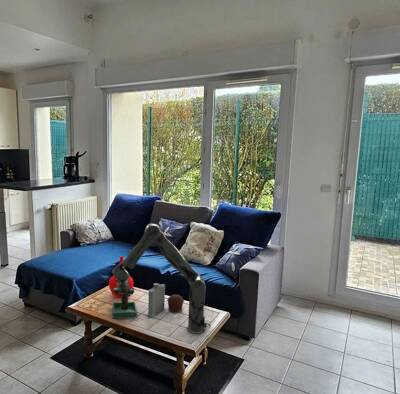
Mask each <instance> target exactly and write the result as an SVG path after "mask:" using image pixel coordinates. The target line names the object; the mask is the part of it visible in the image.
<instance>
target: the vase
mask: <svg viewBox="0 0 400 394" xmlns="http://www.w3.org/2000/svg"><path fill="white" fill-rule="evenodd" d="M122 261H124V256H123V255H120V256H119V264H120V263H121V262H122ZM128 282H129V287H130V289H132V288H134V283H135V282H134V279H133V277H131V276H130V277H129V279H128ZM114 287H116V288H117V281H116V277H115V276H114V275H112V276H111V277H110V278H109V280H108V288H109V291H110V293H111V294H112V295H113V296H114V297H115V298H119V299H121V296H119V294H116V293H115V292H114V291H113V290H114Z"/></svg>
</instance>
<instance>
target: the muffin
mask: <svg viewBox="0 0 400 394" xmlns="http://www.w3.org/2000/svg"><path fill="white" fill-rule="evenodd" d="M166 300H167V305H168V311H169V312H172V313H180V312H182V310H183V305H184V302H185V299H184V298H183V296H181V295H180V294H171V295H170V296H168V298H167V299H166Z"/></svg>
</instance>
